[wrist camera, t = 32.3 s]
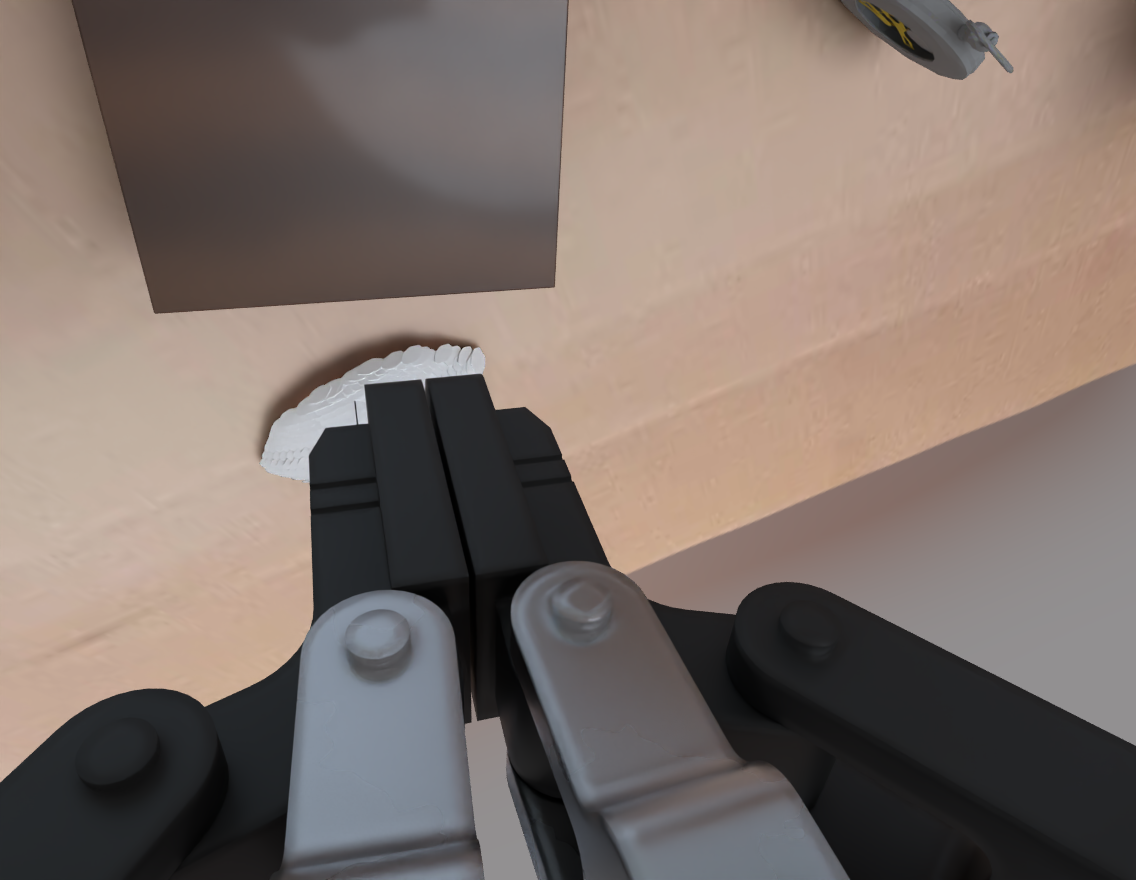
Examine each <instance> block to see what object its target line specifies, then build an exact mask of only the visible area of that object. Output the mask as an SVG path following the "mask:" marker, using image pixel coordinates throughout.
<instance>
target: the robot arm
mask: <svg viewBox="0 0 1136 880" xmlns="http://www.w3.org/2000/svg"><path fill="white" fill-rule="evenodd" d="M364 389H365V399H366V409H367V418H368V424H358V425H348V426H339V427H329V428H325V430H324V431H323V433H322V434H321V436H320V438H319V439H318V441H317V443H316V444H315V446H314V447H313V449H312V451H311V452H310V454H309V478H310V509H311V541H312V572H313V603H314V610H313V620H312V624H311V627H310V630H309V632H308V633H307V635H306V638H305V640H304V642H303V643H302V645H301V646H300V648H299V649H298V651H297V652H296V653H295V654H294V655H293V656H292V657H291V658H290V659H289V660H288V661H287V662H286V663H285V664H284V665H283V666H282V667H280V668H279V669H278V670H277V671H275V672H274V673H272V674H271V675H269V676H268V677H266V678H265V679H263V680H261V681H259V682H258V683H256V684H254V685H252V686H250V687H248V688H245V689H243V690H241V691H239V692H237V693H234V694H232V695H230V696H228V697H226V698H223V699H221V700H219V701H217V702H214V703H212V704H210V705H208V706H206V707H204V706H203V705H202V704H201V703H200V702H199V701H197V700H196V699H194V698H192V697H191V696H189V695H187V694H184V693H181V692H178V691H174V690H167V689H142V690H134V691H129V692H126V693H122V694H118V695H115V696H112V697H110V698H107V699H104V700H102V701H100V702H98V703H96V704H94V705H92V706H90V707H88V708H86V709H84V710H83V711H81V712H80V713H78V714H77V715H75V716H74V717H72V718H71V719H70V720H68V721H67V722H66V723H65V724H64V725H62V726H61V727H60V728H59V729H58V730H56V731H55V732H54V733H53V734H52V735H51V736H50V737H49V738H48V739H47V740H46V741H45V742H44V743H42V744H41V745H40V746H39V747H38V748H37V749H36V750H35V751H34V752H33V753H32V754H31V755H30V756H28V757H27V758H26V759H25V760H24V761H23V762H22V763H21V764H20V765H19V766H18V767H17V768H16V769H14V770H13V771H12V772H11V773H10V774H9V775H8V776H7V777H6V778H5V779H4V780H3V781H2V782H0V880H484V871H483V863H482V856H481V850H480V844H479V841H478V839H477V836H476V831H475V823H474V814H473V805H472V796H471V786H470V776H469V767H468V757H467V748H466V738H465V724H466V723H471V693H472V698H473V702H474V707H475V712H476V717H477V721H479V720H484V719H489V718H494V717H499V716H500V720H501V725H502V729H503V733H504V737H505V742H506V746H507V766H506V771H507V781H508V786H509V789H510V792H511V795H512V799H513V802H514V805H515V808H516V811H517V815H518V818H519V820H520V824H521V827H522V831H523V834H524V837H525V840H526V843H527V846H528V850H529V852H530V856H531V859H532V862H533V865H534V869H535V872H536V875H537V878H538V880H1136V746H1135V745H1133V744H1131V743H1129V742H1127V741H1125V740H1123V739H1121V738H1119V737H1117V736H1115V735H1113V734H1111V733H1109V732H1107V731H1105V730H1103V729H1101V728H1099V727H1097V726H1095V725H1093V724H1091V723H1089V722H1087V721H1085V720H1083V719H1081V718H1079V717H1077V716H1075V715H1073V714H1071V713H1069V712H1067V711H1065V710H1063V709H1061V708H1059V707H1057V706H1055V705H1053V704H1051V703H1049V702H1048V701H1046V700H1043V699H1042V698H1040V697H1037V696H1036V695H1034V694H1032V693H1029V692H1028V691H1026V690H1023V689H1022V688H1020V687H1018V686H1016V685H1014V684H1012V683H1010V682H1008V681H1006V680H1004V679H1002V678H1000V677H998V676H996V675H994V674H992V673H990V672H988V671H986V670H984V669H982V668H980V667H978V666H976V665H974V664H972V663H970V662H968V661H966V660H964V659H962V658H960V657H958V656H956V655H954V654H952V653H950V652H948V651H946V650H944V649H942V648H940V647H938V646H936V645H934V644H932V643H930V642H928V641H926V640H925V639H923V638H920V637H919V636H917V635H915V634H913V633H911V632H908V631H907V630H905V629H903V628H901V627H899V626H897V625H895V624H893V623H891V622H889V621H887V620H885V619H883V618H881V617H879V616H877V615H875V614H873V613H871V612H869V611H867V610H865V609H863V608H861V607H859V606H857V605H855V604H853V603H851V602H849V601H847V600H845V599H843V598H841V597H839V596H837V595H835V594H833V593H831V592H829V591H826V590H824V589H822V588H818V587H815V586H812V585H808V584H802V583H794V582H781V583H773V584H769V585H765V586H762V587H760V588H757V589H756V590H754V591H752V592H751V593H749V594H748V595H747V596H746V597H745V598H744V599H743V600H742V602H741V604H740V605H739V607H738V610H737V613H736V615H733V614H723V613H714V612H703V611H694V610H685V609H679V608H672V607H669V606H665V605H661V604H659V603H656V602H654V601H651V600H649V599H647V597H646V596H645V594H644V593H643V591H642V590H641V589H640V587H639V586H637V584H635V582H634V581H632V580H631V579H630V578H628V577H627V576H626V575H625V574H623V573H621V572H619V571H617V570H615V569H613V568H611V566H610V564H609V562H608V560H607V558H606V555H605V553H604V551H603V548H602V546H601V544H600V541H599V539H598V537H597V535H596V532H595V530H594V528H593V525H592V523H591V521H590V518H589V516H588V514H587V511H586V509H585V507H584V504H583V502H582V500H581V498H580V495H579V493H578V491H577V488H576V486H575V484H574V482H572V480H571V474H570V472H569V470H568V467H567V465H566V463H565V460H562V454H561V451H560V449H559V447H558V444H557V442H556V440H555V437H554V435H553V433H552V430H551V428H550V427H549V426H547V425H546V424H545V423H544V422H543V421H541V420H540V419H539V418H538V417H537V416H535V415H534V414H533V413H532V412H531V411H529V410H528V409H527V408H526V407H521V408H511V409H501V410H495V408H494V405H493V402H492V399H491V397H490V394H489V391H488V388H487V385H486V382H485V380H484V377H483V375H482V374H470V375H459V376H448V377H437V378H426V379H425V390H424V386H423V382H422V380H421V379H418V380H407V381H396V382H385V383H374V384H364Z"/></svg>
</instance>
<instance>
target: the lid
mask: <svg viewBox="0 0 1136 880" xmlns="http://www.w3.org/2000/svg"><path fill="white" fill-rule="evenodd" d="M568 3H569V0H72V4H73V8H74V12H75V15H76V19H77V23H78V27H79V31H80V34H81V38H82V42H83V46H84V49H85V53H86V57H87V61H88V65H89V68H90V72H91V76H92V80H93V83H94V87H95V91H96V95H97V99H98V102H99V106H100V110H101V114H102V117H103V121H104V125H105V129H106V133H107V136H108V140H109V144H110V148H111V151H112V155H113V159H114V163H115V167H116V170H117V174H118V178H119V182H120V186H121V189H122V193H123V197H124V201H125V204H126V208H127V212H128V216H129V220H130V223H131V227H132V231H133V235H134V238H135V242H136V246H137V250H138V254H139V257H140V261H141V265H142V269H143V272H144V276H145V280H146V284H147V288H148V291H149V295H150V299H151V303H152V306H153V310H154V313H155V314H158V313H173V312H188V311H204V310H219V309H234V308H249V307H264V306H279V305H294V304H310V303H325V302H340V301H355V300H370V299H385V298H400V297H416V296H431V295H446V294H461V293H476V292H491V291H506V290H522V289H537V288H552V287H555V272H556V251H557V230H558V210H559V189H560V168H561V148H562V127H563V106H564V86H565V65H566V44H567V24H568Z"/></svg>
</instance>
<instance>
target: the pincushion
mask: <svg viewBox="0 0 1136 880" xmlns="http://www.w3.org/2000/svg"><path fill="white" fill-rule="evenodd" d="M484 368H485V356H484V354H483V353H482V351H481V349H480V347H479V348H475V349H472V348H471V347H470V346H469V347H464V348H462V350H461V348H460V347H459V346H453V347H452V346H451V345H450V344H445V345H442V346H440V347H439V348H438V350H436V351H434V350H433V349H430V348H428V347H427V346H426V347H421V346H420V345H416V346H411V347H409V348H408V349H407V350H406V351H405V352H402V351H397V352H392V353H391V354H389V355H388V356H387V357H386V358H384V359H382V358H372V359H370V360H368V361H366V362H364V363H362V364H361V365H359V366H357V367H355V368H353V369H352V370H350V371H348V372H346V373H345V374H344V376H343V377H342V378H339V379H335V380H333V381H330V382H328V383H327V384H326V385H320V386H319V387H318V388H316V389H315V390H313V391H312V392H311V394H310V396H309V397H306V398H305V399H304V400H302V401H301V402H300V403H299V405H298V407H296V408H295V409H289V410H287V411H286V412H284V413H283V414H282V415H281V417H280V418H279V419H277V420H276V421H275V422H274V424H273V425H272V427H271V431H270V433H269V435H270V436H269V438H268V440H267V443H266V445H265V447H264V448H265V451H264V453H263V454H262V457H263V458H262V460H261V461H260V463H259V464H260V465H261V466H262V467H265V470H266V471H267V472H268V473H272V474H276V475H279V476H281V477H288V478H291V479H295V480H304V481H302V482H303V483H308V482H310V478H309V454H310V452H311V451H312V449H313V447H314V446H315V444H316V443H317V441H318V439H319V438H320V436H321V434H322V433H323V431H324V430H325V428H329V427H339V426H348V425H358V424H368V418H367V409H366V399H365V389H364V384H374V383H385V382H396V381H407V380H418V379H421V380H422V382H423V386H424V390H425V379H426V378H437V377H448V376H459V375H470V374H483V370H484Z"/></svg>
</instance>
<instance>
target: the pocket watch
mask: <svg viewBox="0 0 1136 880" xmlns="http://www.w3.org/2000/svg"><path fill="white" fill-rule="evenodd" d="M841 1H842V3H843V4H844V5H845V6H846V7H847V8H848V9H849V10H850V11H851V12H852V13H853V14H854V15H855V16H856V17H857V18H858V19H859V20H860V21H861V22H862V23H863V24H864V25H865V26H866V27H867V28H868V29H869V30H870V31H871V32H872V33H874V34H875V35H876V36H878V37H879V38H881V39H882V40H883V41H885V42H886V43H887V44H889V45H890V46H892V47H893V48H894V49H896V50H897V51H898V52H900V53H901V54H903V55H904V56H905V57H907V58H909V59H910V60H912V61H914V62H916V63H918V64H920V65H922V66H923V67H925V68H927V69H929V70H931V71H933V72H935V73H936V74H938V75H941V76H945V77H948V78H952V79H959V80H963V79H965V78H966V77H967V76H968V75H969V74H971V73H973V72H974V71H975V70H976V69H977V68H978V66H979V65H980V64H981V63H982V62H983V60H984V59H985V54H984V52H988V51H989V52H990V53H991V54H992V55H993V56H994V57H995V58H996V60H997V61H998V62H999V63H1000V64H1001V65H1002V66H1003V68H1004V69H1005V70H1006V71H1007V72H1009V73H1012V72H1013V67H1012V65H1011V64H1010V63H1009V62H1008V61H1007V59H1006V58H1005V57H1004V56H1003V55H1002V54H1001V53H1000V51H999V50H998V49H997V48H996V47H995V45H996V44H997V42H998V38H999V36H998V34H997V33H996V32H993V31H992V30H991V29H990V28H989V26H988V25H986V24H985V23H982V22H976V23H974V22H972V21H971V20H968V19H967V18H966V17H965V16H964V15H963V14H962V13H961V12H960V10H958V9H957V8H956V7H955V6H954V5H953V4H952V3H951V2H950V1H949V0H841Z"/></svg>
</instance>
